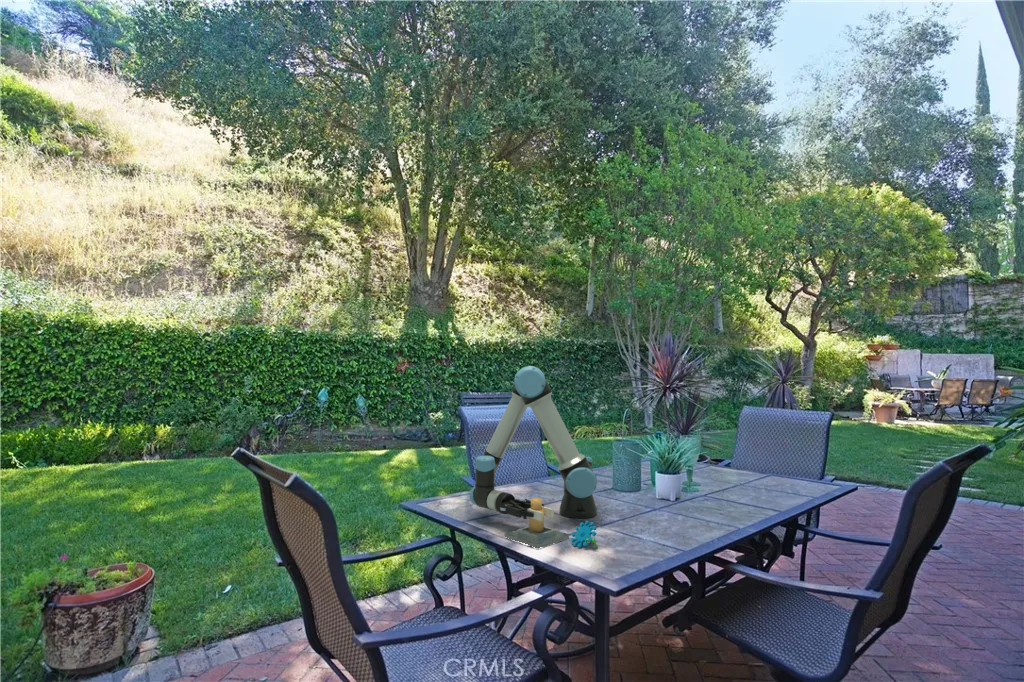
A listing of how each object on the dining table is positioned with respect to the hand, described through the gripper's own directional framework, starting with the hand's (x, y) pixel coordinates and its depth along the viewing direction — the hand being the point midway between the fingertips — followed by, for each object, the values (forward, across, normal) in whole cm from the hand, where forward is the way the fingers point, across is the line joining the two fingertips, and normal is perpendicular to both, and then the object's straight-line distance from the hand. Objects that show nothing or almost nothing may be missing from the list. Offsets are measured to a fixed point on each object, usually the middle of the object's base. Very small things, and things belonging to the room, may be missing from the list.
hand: (547, 515), depth 185 cm
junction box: (-5, 0, -9) cm, 11 cm away
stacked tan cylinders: (-5, 0, -6) cm, 8 cm away
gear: (+11, -6, -9) cm, 16 cm away
